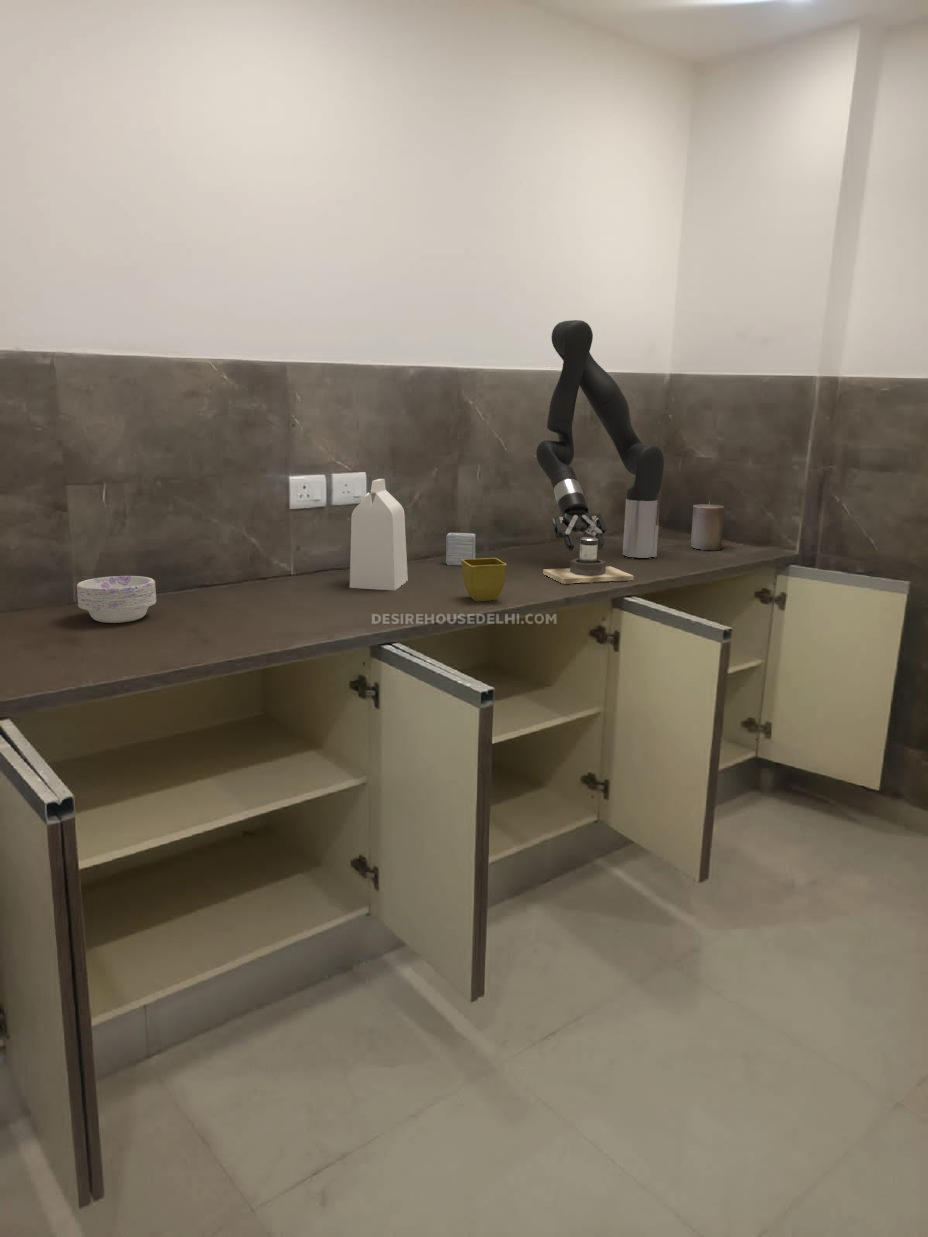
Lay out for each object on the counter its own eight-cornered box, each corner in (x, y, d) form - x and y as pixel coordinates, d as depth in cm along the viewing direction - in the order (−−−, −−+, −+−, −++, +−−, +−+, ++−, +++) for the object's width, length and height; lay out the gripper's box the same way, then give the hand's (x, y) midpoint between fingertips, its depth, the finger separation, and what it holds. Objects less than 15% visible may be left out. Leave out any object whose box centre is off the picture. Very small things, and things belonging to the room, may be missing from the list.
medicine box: (475, 563, 251) (475, 533, 249) (473, 566, 247) (474, 535, 244) (447, 562, 252) (448, 532, 250) (445, 565, 247) (446, 534, 245)
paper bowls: (132, 606, 195) (129, 570, 193) (171, 617, 185) (169, 580, 183) (65, 618, 183) (61, 581, 181) (103, 631, 174) (100, 592, 172)
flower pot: (469, 604, 202) (470, 565, 200) (459, 595, 210) (460, 558, 208) (506, 602, 204) (507, 564, 202) (495, 594, 212) (496, 557, 210)
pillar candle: (725, 548, 284) (728, 501, 281) (716, 552, 276) (719, 504, 272) (695, 545, 289) (698, 499, 286) (685, 549, 281) (689, 502, 278)
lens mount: (610, 571, 242) (611, 555, 241) (633, 581, 230) (634, 564, 229) (542, 574, 236) (543, 558, 235) (562, 584, 224) (563, 567, 223)
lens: (591, 570, 236) (593, 537, 233) (598, 573, 231) (601, 539, 229) (575, 570, 234) (577, 537, 232) (582, 574, 230) (585, 540, 228)
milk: (394, 590, 215) (394, 482, 208) (349, 587, 217) (348, 481, 210) (407, 580, 226) (407, 478, 220) (364, 578, 228) (363, 477, 222)
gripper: (550, 491, 235) (566, 540, 228) (598, 490, 240) (616, 539, 232) (542, 508, 242) (557, 557, 234) (589, 507, 246) (605, 555, 238)
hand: (586, 548), depth 233 cm, fingers open, 8 cm apart
